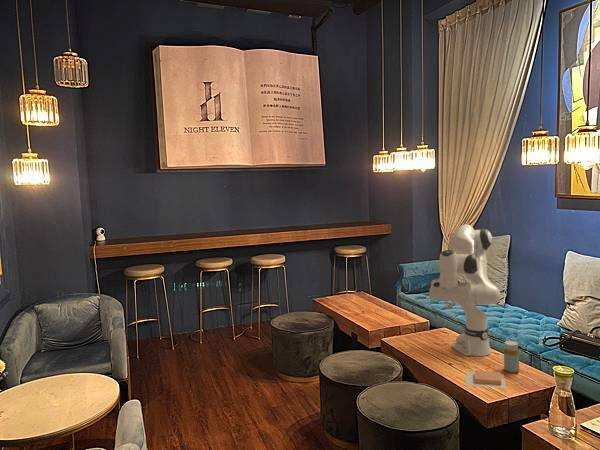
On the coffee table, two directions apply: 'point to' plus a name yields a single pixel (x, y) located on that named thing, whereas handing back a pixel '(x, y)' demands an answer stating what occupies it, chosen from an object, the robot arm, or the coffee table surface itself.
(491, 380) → the tile
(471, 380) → the mat
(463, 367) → the coffee table surface
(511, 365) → the bottle
